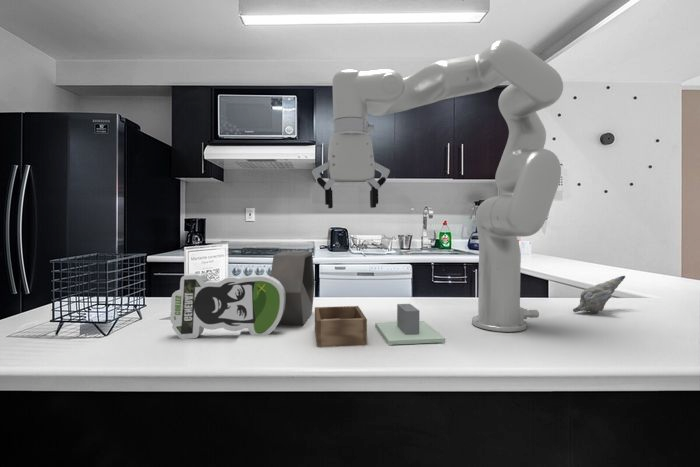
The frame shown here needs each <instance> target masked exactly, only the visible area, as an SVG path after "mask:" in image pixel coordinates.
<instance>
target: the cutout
mask: <svg viewBox="0 0 700 467" xmlns="http://www.w3.org/2000/svg"><path fill="white" fill-rule="evenodd" d="M170 299H171V300H170V301H171V303H170V304H171V305H170V316H169V321H170V323H171V324H172V329H173V331H174V332H175V334H176V335H177V337H178V338H179V339H181V340H183V339H184V340H185V339H186V340H187V339H189V340H190V339H197V338H198V337H199V336H201V335H202V334H203V333H204V330H205V329H206V330H210V331H211V330H212V331H213V330H218V329H224V330H226V331H230V332H237V331H243V330H245V329H248V332H249V334H250V335H251V336H252V335H253V336H268V335H270V334H271V333H272V332H273V331H274V330H275V329H276V328H277V326H279V325H278V323H279V322H280V320H281V318H282V316H283V313H284V310H285V303H286V295H285V290H284V287H283V285H282V284H281V283H280V282H279V281H278V280H277V279H275V278H273V277H270V275H266V274H256V275H245V276H238V275H233V276H228V277H226V278H223V279H222V280H220V279H219V280H216V279H214V280H213V279H212V280H209V278H208V277H207V276H206V274H204V273H201V272H200V273H187V274H185V275H182V276H181V277H180V282H179V289H178V290H175V291H174V292H173V293H172V295H171V298H170Z"/></svg>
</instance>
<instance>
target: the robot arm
mask: <svg viewBox="0 0 700 467" xmlns="http://www.w3.org/2000/svg"><path fill="white" fill-rule="evenodd" d="M504 82H508V83H509V85H508V86H506V87H505V88H504V89H503V90H502V91H501V93H500V95H499V98H498V102H497V103H498V104H497V105H498V109H499V112H500V114H501V115H502V117H503V118H504V120H505V122H506V124H507V127H508V138H507V141H506V144H505V148H504V150H503V153H502V154H501V159H500V161H499V164H498V166H497V169H496V172H495V178H494V180H495V185H496V187H497V188H498V189H499V190H500V191H502V192H503V193H507V194H506V195H497V196H491V197H489V198H487V199H485V200H483V201H482V202H481V203H480V204H479V206H478V207H477V210H476V212H475V226H476V231H477V238H478V296H477V298H478V302H477V304H478V305H477V306H478V307H477V308H478V310H477V314H478V315H474V316H472V318H471V324H472V325H473V326H475V327H477V328H479V329H482V330H487V331H492V332H501V333H502V332H503V333H504V332H506V333H514V332H522V331H524V330H526V329H527V325H528V323H527V321H525V320H527V319H528V318H530V319H534V318H535V319H536V318H537V319H538V318H539V317H540V312H539V310H538V309H529V310H528V308H523V307H521V263H522V262H521V261H522V256H521V255H522V254H521V252H522V251H521V247H520V243H519V239H518V237H520V238H521V237H530V236H532V235H535V234H536V233H538V232H539V231H540V230H541V229H542V228H543V226H544V224H545V222H546V220H547V218H548V216H549V213H550V210H551V208H552V205H553V202H554V199H555V195H556V194H557V191H558V189H559V188H558V187H559V185H560V183H561V182H560V181H561V177H562V166H561V161H560V160H559V158H558V156H557V155H556V154H555V153H554V152H553V151H551V150H550V149H546V148H545V146H546V141H547V131H546V128H545V126H544V124H543V121H542V120H541V118H540V116H539V114H538V113H537V112H538V111H541V110H543V109H547V108H549V107H551V106H552V105H554V104H555V103H557V101H559V100H560V98H561V96H562V95H563V91H564V82H563V79H562V77H561V75H560V73H559V72H557V69H555V68H554V67H552V66H551V65H550V64H548V63H547V62H546V61H544V60H543V59H541V57H539V56H538V55H536V54H535V53H534V52H532V51H530V50H529V49H527V48H526V47H525V46H523V45H521V44H519V43H517V42H515V41H512V40H510V39H504V38H503V39H502V38H501V39H498V40H496V41H494V42H492V44H490V45H489V46H488V47H486V48H484V50H482V51H481V52H478V53H476V54H471V55H465V56H460V57H454V58H447V59H442V60H438V61H435V62H433V63H430V64H429V65H426V66H424V67H423V68H421V69H419V70H418V71H416V72H415V73H413V74H411V75H409V76H407V77H403V76H402V75H401V73H399V72H398V71H397V70H393V69H389V68H382V69H381V68H380V69H374V70H373V69H372V70H366V71H365V70H362V71H360V70H358V69H352V68H351V69H342V70H338V72H336V73H335V74H334V75H333V78H332V114H333V115H332V117H333V122H332V123H333V124H332V125H333V127H332V128H333V132H332V133H333V134H332V135H330V137H329V142H328V152H327V162H325V163H322V164H321V165H320V166H317V167H316V168H313V169H312V171H311V174H312V175H313V177H314V179H315V180H316V183H317V184H318V185H319V186H320V187H321V188H322V189H323V190H324V204H325V205H327V209H332V208H333V207H334V206H333V204H334V203H333V201H334V200H333V199H334V198H333V190H332V186H333V185H334V183H367V184H368V185H369V186H370V187H371V188H370V191H369V203H370V204H369V207H370V208H371V209H372V208H373V209H374V208H377V205H378V204H379V189H380V188H381V187H382V186H383V185H384V184H385V183H386V181H387V179H388V176H389V174H390V172H391V170H390V169H389V168H387V167H385V166H383V165H381V164H380V163H377V162H376V161H375V157H374V156H375V155H374V148H373V147H374V146H373V142H372V138H371V135H369V133H370V132H374V131H375V125H373V124H369V120H368V114H369V115H371V116H374V117H375V116H379V117H380V116H385V115H386V116H387V115H391V114H395V113H399V112H405V111H408V110H412V109H416V108H418V107H421V106H425V105H426V106H427V105H430V104H433V103H437V102H440V101H443V100H446V99H451V98H457V97H461V96H467V95H472V94H477V93H482V92H486V91H490V90H492V89H493V88H496V87H497V86H499V85H501V84H503V83H504ZM326 170H327V179H328V181H325V179H323V178H322V175H321V173H322V172H324V171H326ZM376 171H378V172H379V173H380V174H381V176H380V177H379V179H378V180H376V179H375V174H376Z"/></svg>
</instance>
